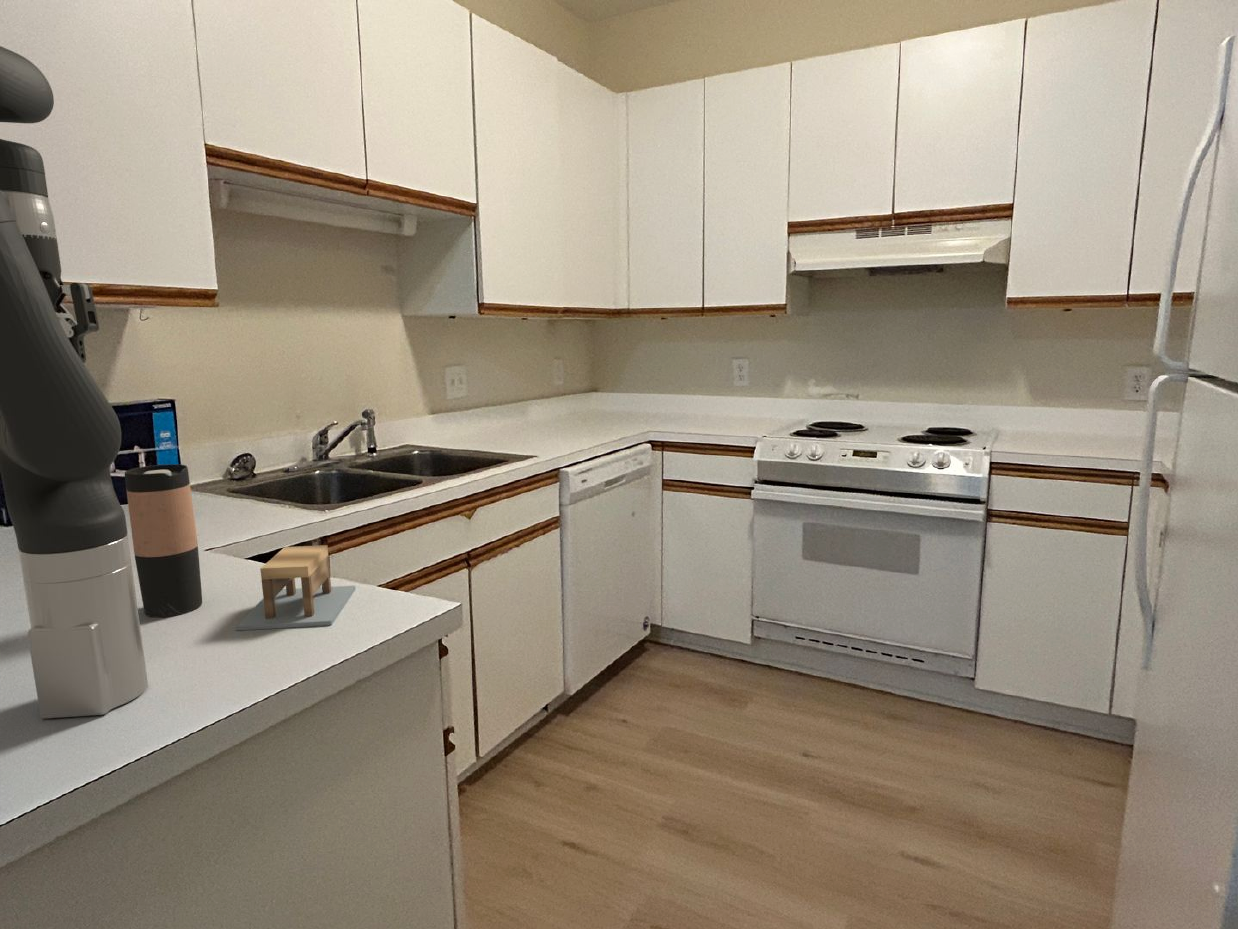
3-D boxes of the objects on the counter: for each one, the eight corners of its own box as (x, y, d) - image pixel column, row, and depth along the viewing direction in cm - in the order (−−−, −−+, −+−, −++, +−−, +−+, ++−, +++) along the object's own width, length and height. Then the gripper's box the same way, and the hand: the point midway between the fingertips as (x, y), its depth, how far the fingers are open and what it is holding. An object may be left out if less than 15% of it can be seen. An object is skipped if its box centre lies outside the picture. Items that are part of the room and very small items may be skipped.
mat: (331, 625, 100) (331, 620, 100) (236, 630, 99) (235, 626, 99) (355, 589, 114) (355, 585, 114) (272, 593, 113) (271, 589, 113)
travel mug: (148, 602, 110) (130, 466, 106) (208, 595, 112) (192, 462, 109) (136, 621, 103) (116, 476, 99) (200, 613, 105) (183, 471, 102)
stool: (288, 593, 111) (284, 547, 110) (331, 591, 112) (327, 545, 110) (265, 619, 101) (260, 568, 100) (312, 616, 102) (307, 566, 101)
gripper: (98, 238, 97) (115, 366, 100) (-24, 238, 95) (-3, 368, 98) (62, 230, 90) (82, 369, 92) (-70, 230, 88) (-46, 371, 91)
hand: (38, 368), depth 95 cm, fingers open, 8 cm apart
